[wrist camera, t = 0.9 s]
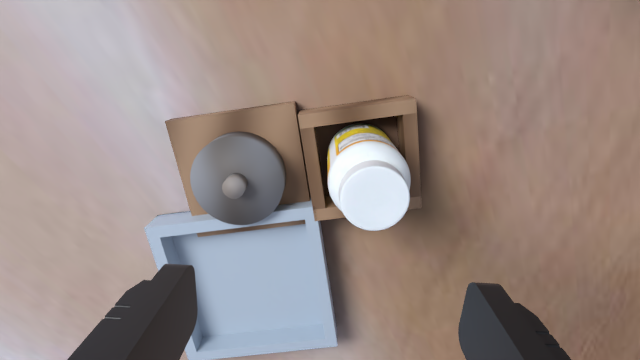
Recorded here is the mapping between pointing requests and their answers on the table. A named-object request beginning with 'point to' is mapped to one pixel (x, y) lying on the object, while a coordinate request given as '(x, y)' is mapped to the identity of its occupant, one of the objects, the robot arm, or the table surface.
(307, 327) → the tray
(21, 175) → the table surface
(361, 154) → the supplement bottle
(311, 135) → the block
